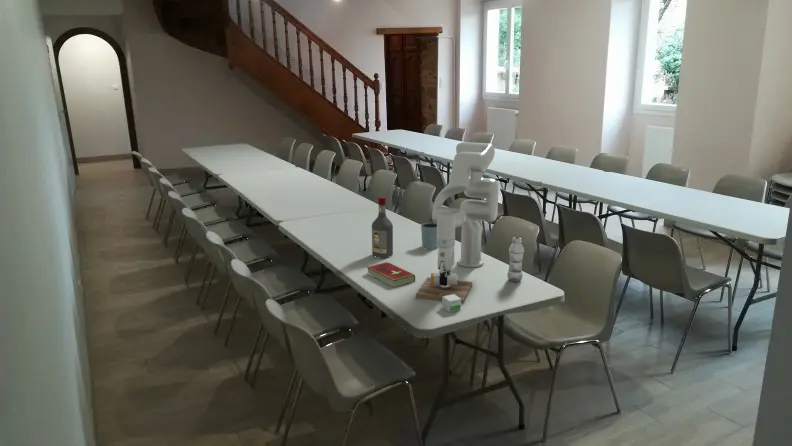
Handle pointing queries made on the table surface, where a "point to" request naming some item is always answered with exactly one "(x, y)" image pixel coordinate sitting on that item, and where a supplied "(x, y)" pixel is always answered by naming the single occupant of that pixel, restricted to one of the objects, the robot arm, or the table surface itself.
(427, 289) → the wooden cutting board
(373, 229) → the liquor
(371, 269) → the hardcover book
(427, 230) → the teal cup
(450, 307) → the small box
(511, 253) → the plastic bottle
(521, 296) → the table surface
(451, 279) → the white and orange box
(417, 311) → the table surface
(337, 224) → the table surface
